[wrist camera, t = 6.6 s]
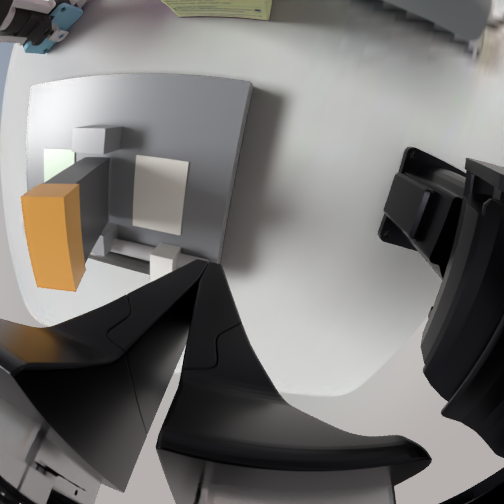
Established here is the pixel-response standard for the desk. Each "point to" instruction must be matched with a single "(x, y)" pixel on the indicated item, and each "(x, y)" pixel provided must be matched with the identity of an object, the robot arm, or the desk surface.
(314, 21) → the desk surface
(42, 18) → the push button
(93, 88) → the breaker panel
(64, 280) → the lever
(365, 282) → the desk surface
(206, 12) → the box
